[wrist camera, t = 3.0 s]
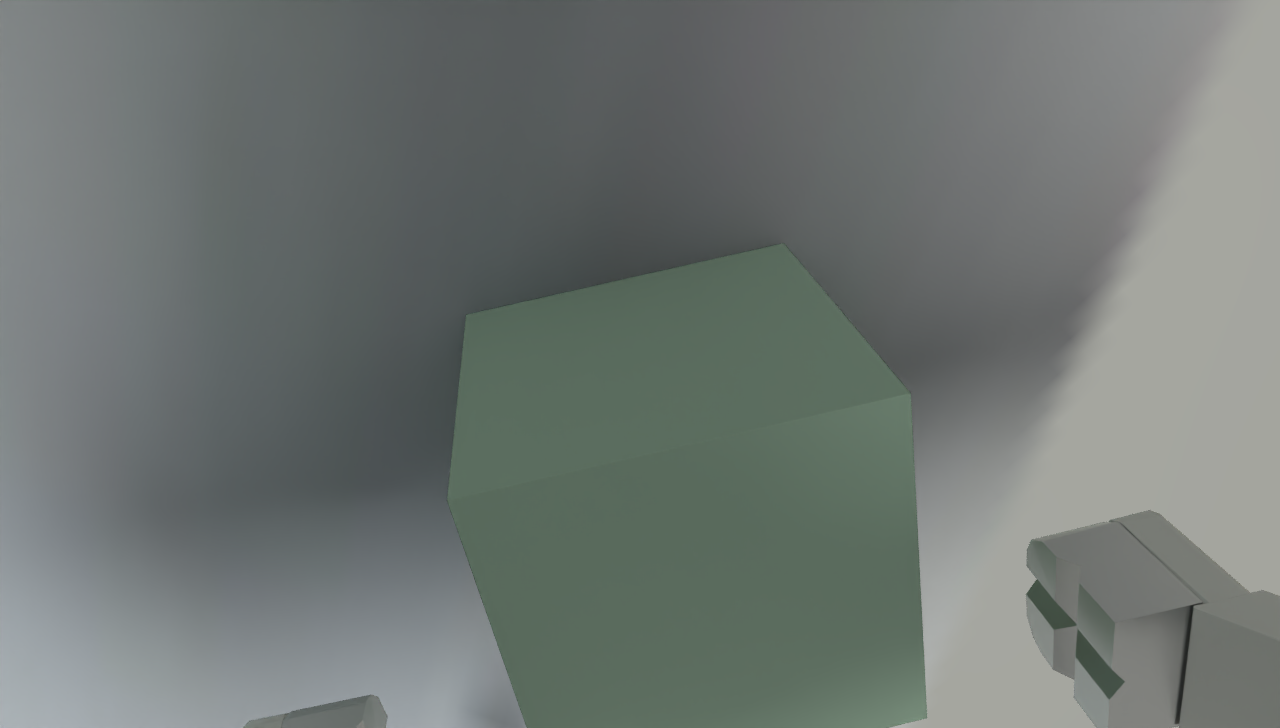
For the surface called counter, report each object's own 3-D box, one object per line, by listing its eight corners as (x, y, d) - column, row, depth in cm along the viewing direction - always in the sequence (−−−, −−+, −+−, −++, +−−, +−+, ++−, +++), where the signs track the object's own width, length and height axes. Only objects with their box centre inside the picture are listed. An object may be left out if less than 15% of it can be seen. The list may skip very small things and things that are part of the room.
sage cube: (466, 312, 14) (446, 500, 9) (782, 241, 14) (910, 393, 10) (541, 562, 16) (555, 808, 12) (812, 498, 16) (927, 718, 12)
